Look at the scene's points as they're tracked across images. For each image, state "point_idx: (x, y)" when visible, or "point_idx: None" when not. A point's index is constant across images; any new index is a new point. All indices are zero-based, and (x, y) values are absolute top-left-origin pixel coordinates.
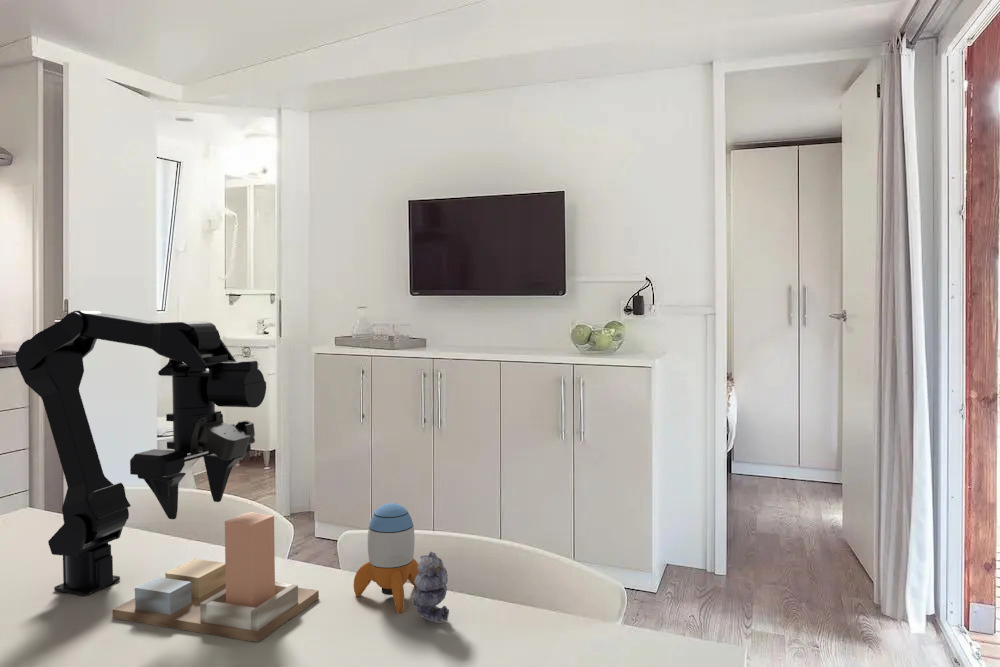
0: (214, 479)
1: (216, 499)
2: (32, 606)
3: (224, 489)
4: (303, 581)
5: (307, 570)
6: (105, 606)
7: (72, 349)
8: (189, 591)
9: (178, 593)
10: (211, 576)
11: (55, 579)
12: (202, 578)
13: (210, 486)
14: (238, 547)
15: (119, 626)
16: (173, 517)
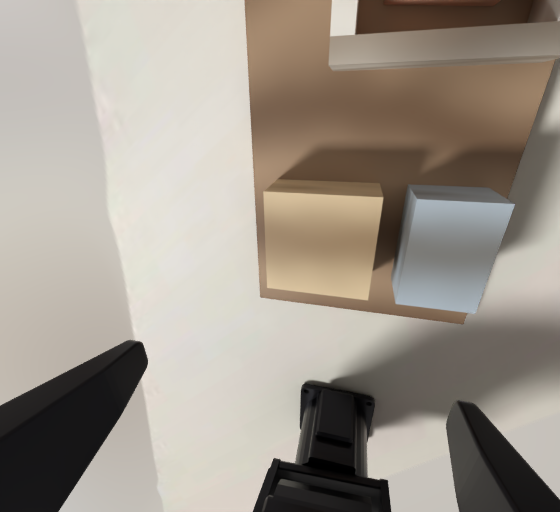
0: (45, 476)
1: (137, 360)
2: (422, 438)
3: (65, 373)
4: (167, 3)
5: (114, 51)
6: (406, 350)
7: None
8: (420, 192)
9: (470, 197)
10: (330, 190)
11: None
12: (366, 195)
13: (97, 445)
14: None
15: (499, 278)
16: (479, 414)
